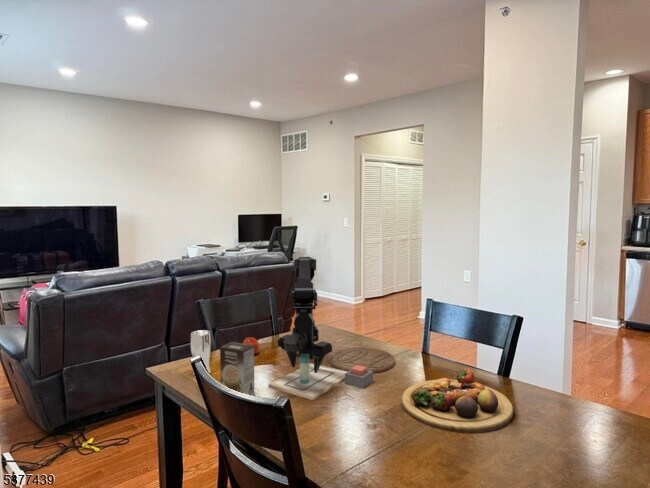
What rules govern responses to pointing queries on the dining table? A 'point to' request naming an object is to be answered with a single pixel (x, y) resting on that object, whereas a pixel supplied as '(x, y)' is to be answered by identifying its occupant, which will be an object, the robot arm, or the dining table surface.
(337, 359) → the trivet
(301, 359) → the teal-banded white cylinder
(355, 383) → the button housing
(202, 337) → the beer glass
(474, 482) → the dining table surface
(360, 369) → the button
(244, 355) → the coffee box
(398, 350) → the dining table surface
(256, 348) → the pomegranate
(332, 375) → the board
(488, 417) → the wooden plate with food
